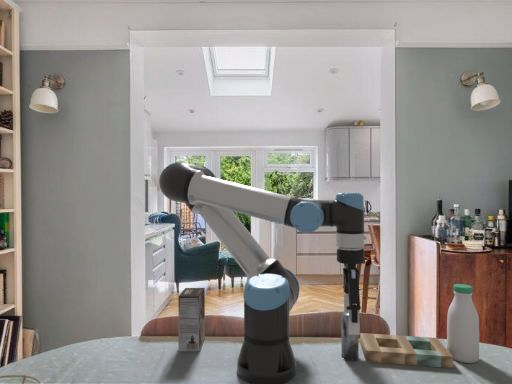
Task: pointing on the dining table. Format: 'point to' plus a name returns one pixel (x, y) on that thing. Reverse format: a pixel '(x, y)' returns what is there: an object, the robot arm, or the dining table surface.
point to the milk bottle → (463, 326)
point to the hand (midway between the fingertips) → (351, 324)
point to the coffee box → (191, 319)
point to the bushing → (349, 340)
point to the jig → (405, 350)
